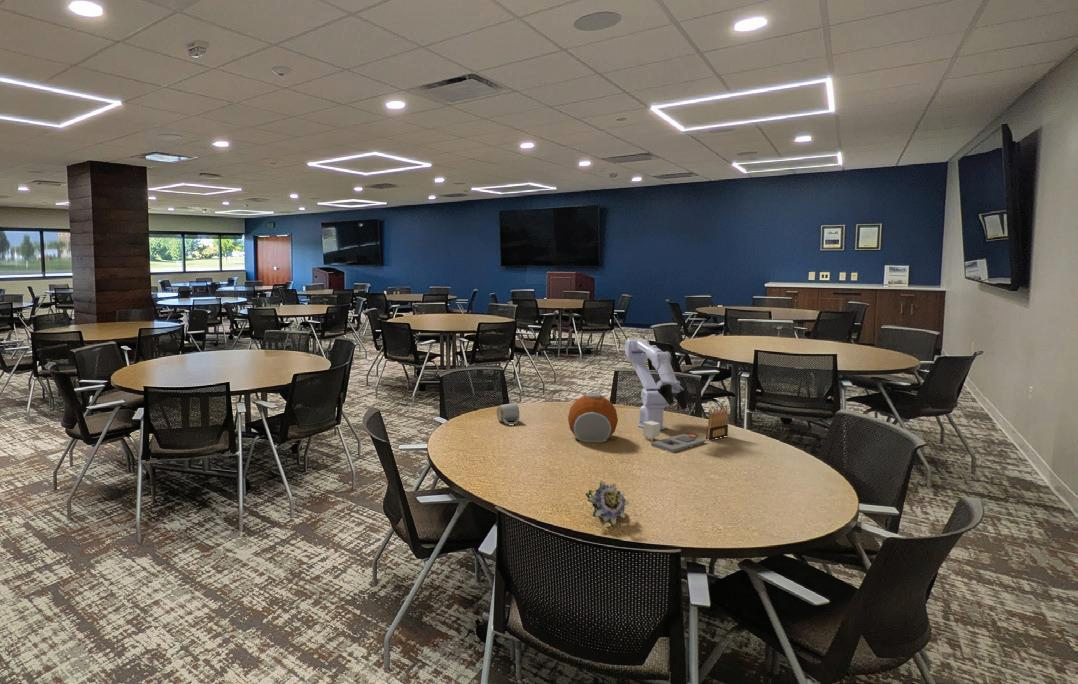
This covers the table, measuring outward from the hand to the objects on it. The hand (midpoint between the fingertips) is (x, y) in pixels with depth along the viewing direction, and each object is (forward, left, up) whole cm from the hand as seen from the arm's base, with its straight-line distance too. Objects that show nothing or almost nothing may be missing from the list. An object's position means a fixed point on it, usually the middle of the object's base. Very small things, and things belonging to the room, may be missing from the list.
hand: (678, 406), depth 217 cm
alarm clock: (-23, -22, -14) cm, 35 cm away
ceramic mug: (-59, -35, -15) cm, 70 cm away
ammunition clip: (+6, +18, -14) cm, 24 cm away
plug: (-8, -5, -14) cm, 17 cm away
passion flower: (+30, -70, -14) cm, 77 cm away
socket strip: (+2, -1, -14) cm, 14 cm away
